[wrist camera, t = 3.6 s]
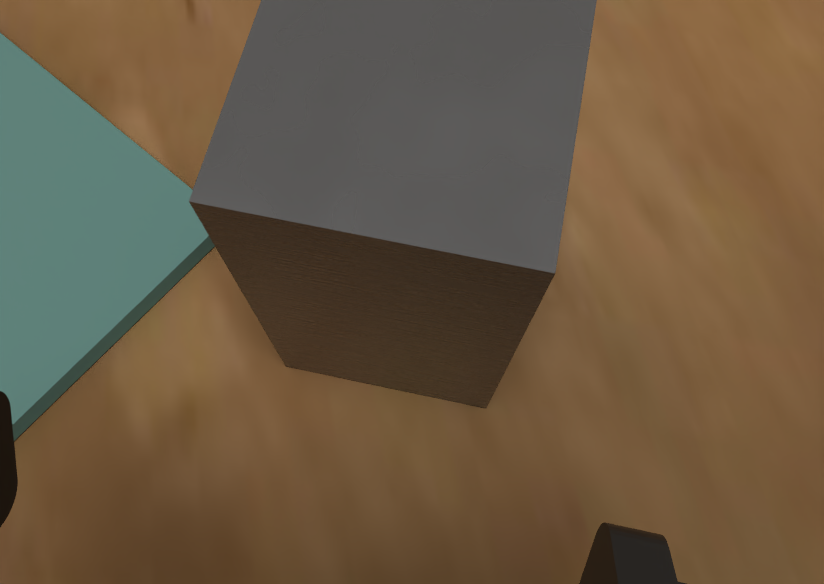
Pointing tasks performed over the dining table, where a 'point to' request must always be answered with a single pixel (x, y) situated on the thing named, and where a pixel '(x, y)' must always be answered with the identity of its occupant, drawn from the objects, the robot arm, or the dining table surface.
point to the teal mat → (76, 235)
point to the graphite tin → (398, 182)
